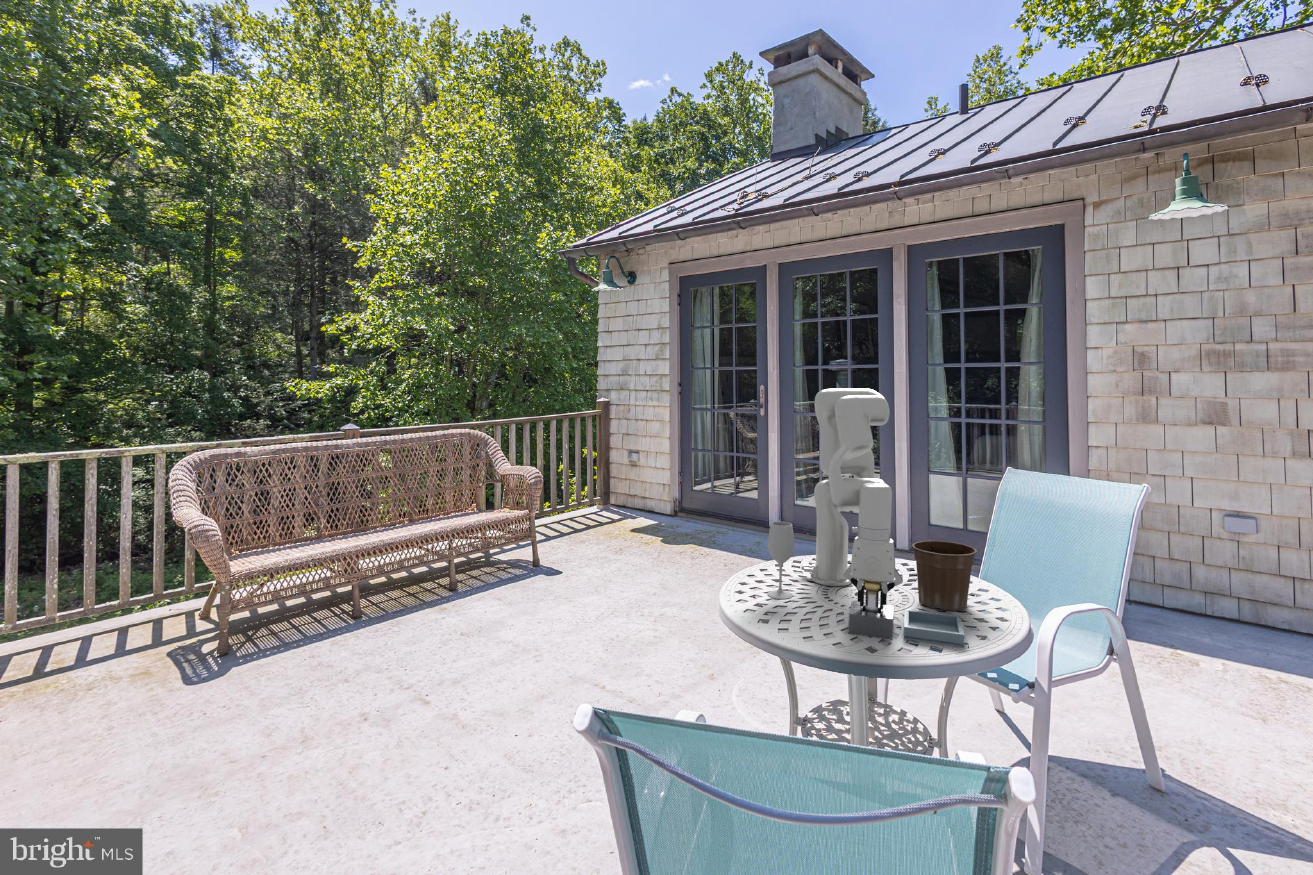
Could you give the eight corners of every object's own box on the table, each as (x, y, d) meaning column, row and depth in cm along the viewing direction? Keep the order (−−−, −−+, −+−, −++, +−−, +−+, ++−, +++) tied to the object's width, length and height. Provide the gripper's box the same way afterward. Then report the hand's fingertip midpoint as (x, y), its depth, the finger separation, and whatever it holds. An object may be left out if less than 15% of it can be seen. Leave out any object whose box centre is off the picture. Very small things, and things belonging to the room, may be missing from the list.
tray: (903, 638, 149) (903, 626, 149) (904, 620, 161) (904, 609, 161) (963, 647, 144) (964, 635, 144) (959, 627, 156) (960, 616, 156)
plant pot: (897, 598, 178) (899, 542, 177) (940, 591, 184) (942, 537, 183) (942, 617, 163) (945, 557, 162) (987, 609, 169) (990, 551, 168)
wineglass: (778, 601, 176) (779, 527, 174) (761, 593, 183) (762, 522, 181) (799, 596, 179) (800, 524, 178) (782, 589, 186) (783, 519, 184)
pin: (861, 629, 154) (862, 582, 153) (862, 623, 158) (863, 577, 157) (880, 632, 153) (881, 584, 152) (880, 626, 157) (882, 579, 156)
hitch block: (848, 633, 153) (849, 613, 152) (852, 619, 162) (852, 600, 162) (892, 639, 149) (892, 619, 149) (893, 625, 158) (893, 605, 158)
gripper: (837, 533, 153) (835, 606, 155) (910, 540, 147) (908, 616, 148) (840, 527, 160) (838, 596, 162) (910, 533, 154) (908, 605, 155)
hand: (871, 605), depth 155 cm, fingers closed on pin, 4 cm apart
